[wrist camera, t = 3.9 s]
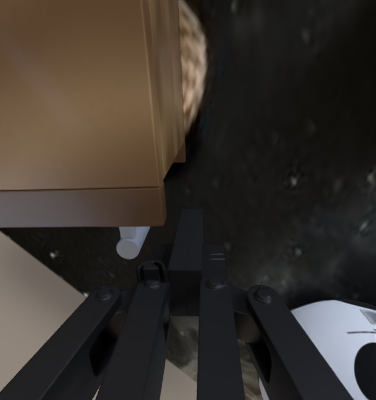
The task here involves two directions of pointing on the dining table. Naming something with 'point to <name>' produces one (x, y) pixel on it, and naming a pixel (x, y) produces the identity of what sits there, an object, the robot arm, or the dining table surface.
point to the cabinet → (88, 111)
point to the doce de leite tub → (343, 341)
